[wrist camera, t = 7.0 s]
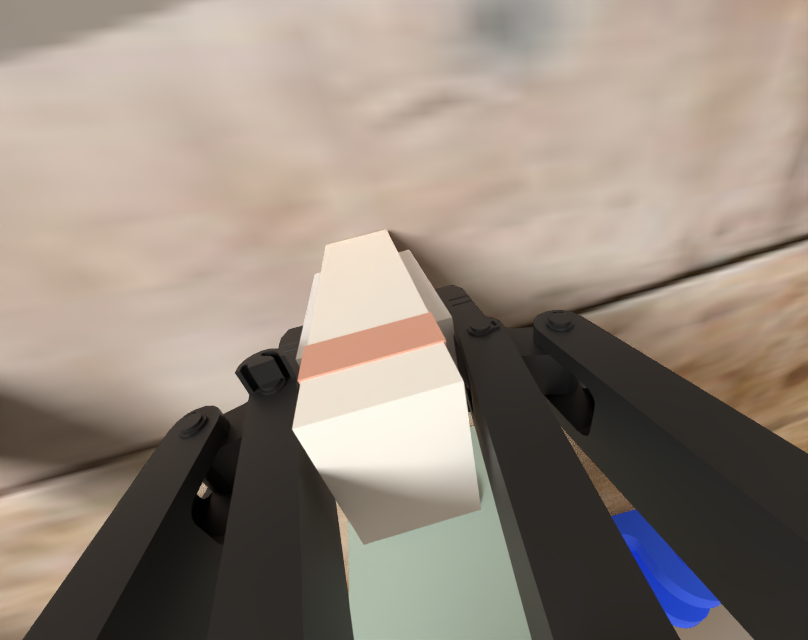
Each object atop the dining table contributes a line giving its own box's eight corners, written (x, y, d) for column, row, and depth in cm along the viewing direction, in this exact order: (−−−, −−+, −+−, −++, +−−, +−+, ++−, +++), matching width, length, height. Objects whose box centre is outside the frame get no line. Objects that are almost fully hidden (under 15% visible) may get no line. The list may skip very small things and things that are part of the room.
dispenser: (341, 458, 23) (338, 747, 12) (487, 416, 23) (615, 657, 12) (382, 536, 29) (404, 766, 18) (495, 502, 30) (582, 707, 19)
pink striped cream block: (324, 244, 14) (288, 427, 5) (387, 228, 15) (465, 378, 5) (389, 428, 22) (425, 646, 12) (431, 416, 22) (498, 623, 12)
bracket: (669, 498, 37) (754, 590, 29) (650, 531, 41) (720, 618, 34) (532, 536, 36) (583, 642, 28) (527, 565, 40) (570, 665, 32)
